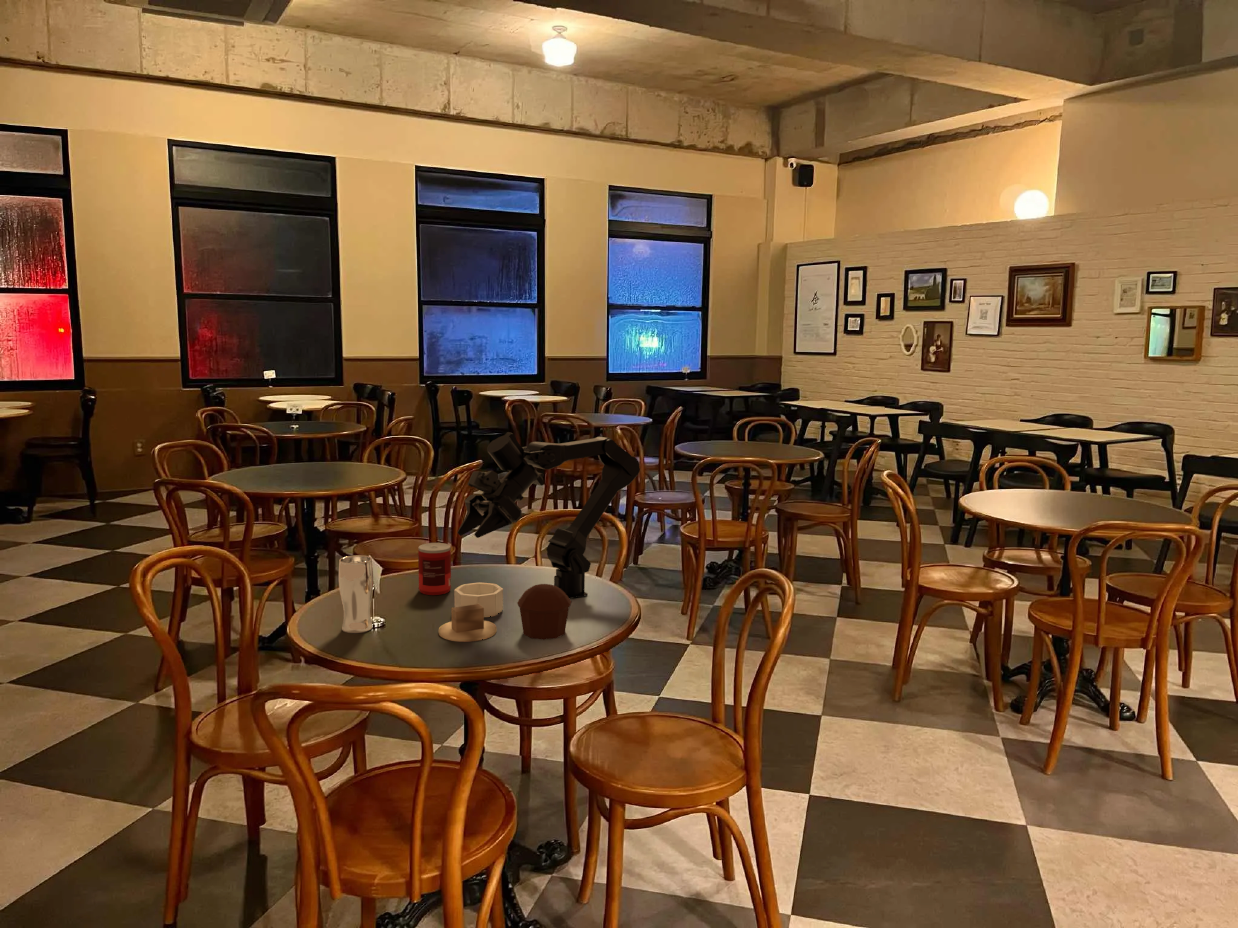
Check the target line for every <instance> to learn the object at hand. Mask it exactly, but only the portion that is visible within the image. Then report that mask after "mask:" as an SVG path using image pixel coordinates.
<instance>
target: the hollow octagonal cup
mask: <svg viewBox="0 0 1238 928" xmlns="http://www.w3.org/2000/svg"><path fill="white" fill-rule="evenodd" d="M474 604H479V605H481V606H482V607H483V608H484V618H489V617H490V616H491V617H496V616H498V615H499V614H500V613H502V612H503V611H504V588H502V587H501V586H499V585H498V584H497V583H489V582H488V583H487V582H481V581H480V582H472V583H465V584H461V585H459V586H458V587H456V588H455V589H454V607H460V606H467V605H474ZM502 610H503V611H502ZM498 613H499V614H498Z"/></svg>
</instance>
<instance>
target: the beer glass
mask: <svg viewBox="0 0 1238 928" xmlns="http://www.w3.org/2000/svg"><path fill="white" fill-rule="evenodd" d="M338 588H339V594H340V599H341V603H342V609H343V621H342V627H341V629H342V631H343V632H344V633H348V634H363V633H366V632H368V631H371V630H372V629H373V621H372V617H371V604H372V603H371V602H372V597H373V591H374V567H373V557H371V556H368V555H359V554H358V555H356V554H355V555H348V556H347V555H346V556H344V557H341V558H339V561H338Z"/></svg>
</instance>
